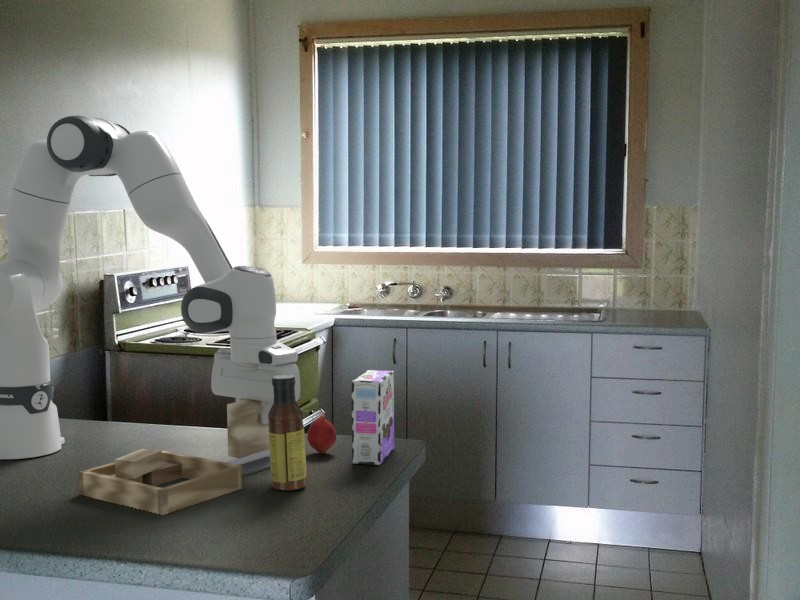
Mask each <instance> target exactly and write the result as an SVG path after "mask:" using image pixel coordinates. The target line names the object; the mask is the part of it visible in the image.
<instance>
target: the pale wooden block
mask: <svg viewBox="0 0 800 600" xmlns="http://www.w3.org/2000/svg"><path fill="white" fill-rule="evenodd" d="M263 408H264V407H262V406H261V401H257V400H250V399H247V400H242V401H238V402H236V401H233V402H231V403H227V404H226V415H227V416H226V417H227V418H226V421H227V424H226V425H227V457H231V458H234V459H237V458H243V457H246V456H249V455H253V454H256V453H259V452H263V451H266V450H270V446H269V423H268V424H259V423H258V415H259V414H261V413H262V410H263Z"/></svg>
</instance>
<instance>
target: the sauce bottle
mask: <svg viewBox="0 0 800 600" xmlns="http://www.w3.org/2000/svg"><path fill="white" fill-rule="evenodd" d="M272 385H273V389H274V403H273V405H272V407H271V409H270V411H269V414H268V420H269V446H270V449H269V450H270V465H271V468H270V479H271V484H272V487H273V488H274V489H275V490H277V491H284V492H285V491H286V492H290V491H298V490H301V489H304V488H305V487H306V485H307V476H308V475H307V460H306V459H307V458H306V457H307V456H306V441H305V439H306V438H305V427H304V422H303V420H304V419H303V411H302V410H301V408H300V406H299V404H298V401H297V402H296V400H295V399H296V397H295V376H294V375H278V376H273V377H272Z"/></svg>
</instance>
